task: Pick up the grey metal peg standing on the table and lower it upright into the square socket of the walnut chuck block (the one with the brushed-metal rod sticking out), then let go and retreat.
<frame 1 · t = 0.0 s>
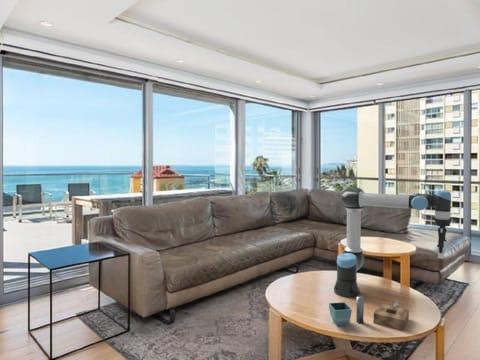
hand: (441, 255, 188), 28 cm above the table, fingers open, 13 cm apart
chuck block: (391, 320, 170), on the table
grey metal peg: (359, 322, 169), on the table
flower pot: (339, 323, 168), on the table
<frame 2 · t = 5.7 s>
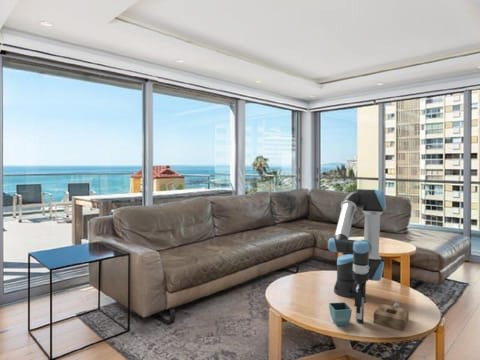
hand: (359, 317, 169), 3 cm above the table, fingers closed on grey metal peg, 3 cm apart
grey metal peg: (359, 321, 169), on the table, touching gripper
everything else where it was.
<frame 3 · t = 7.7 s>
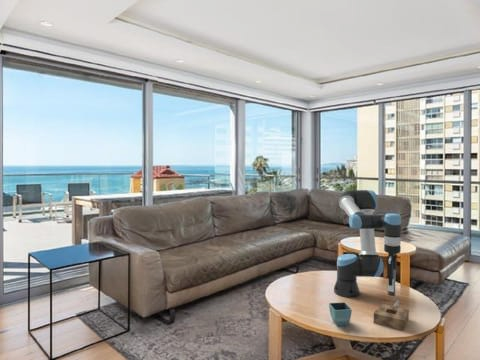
hand: (391, 289, 169), 16 cm above the table, fingers closed on grey metal peg, 3 cm apart
grey metal peg: (391, 294, 169), point 14 cm above the table, touching gripper
everything else where it was.
when the fingers open (6 cm above the table, at t = 9.7 s): grey metal peg drops 2 cm, resting in chuck block.
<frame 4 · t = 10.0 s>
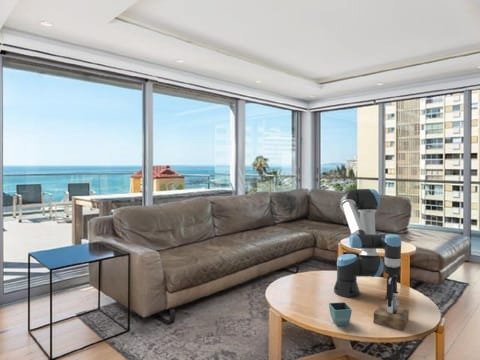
hand: (391, 308, 169), 6 cm above the table, fingers open, 8 cm apart
grey metal peg: (391, 321, 170), resting in chuck block
everything else where it was.
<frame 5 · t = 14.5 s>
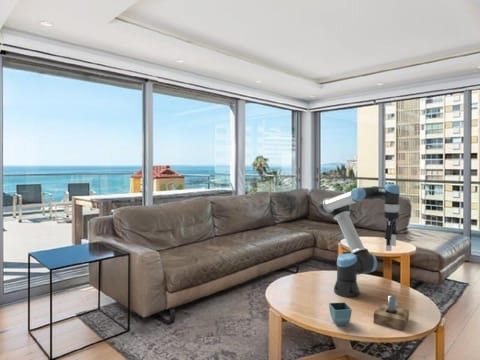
hand: (390, 248, 190), 32 cm above the table, fingers open, 13 cm apart
nothing on the table moved.
at the end: grey metal peg 0.0 cm off-centre on the chuck block, point 0.0 cm above the chuck block's base; grey metal peg tilted 0°; the gripper is holding nothing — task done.
